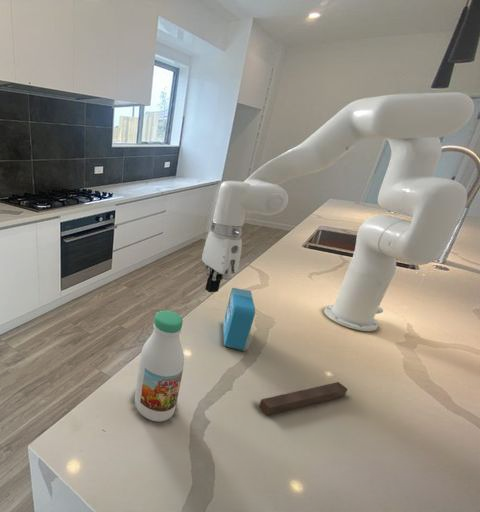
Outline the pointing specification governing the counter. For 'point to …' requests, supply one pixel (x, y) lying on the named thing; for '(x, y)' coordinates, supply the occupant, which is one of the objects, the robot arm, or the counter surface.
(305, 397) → the strip
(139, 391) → the milk bottle
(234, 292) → the data package
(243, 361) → the counter surface
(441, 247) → the robot arm
